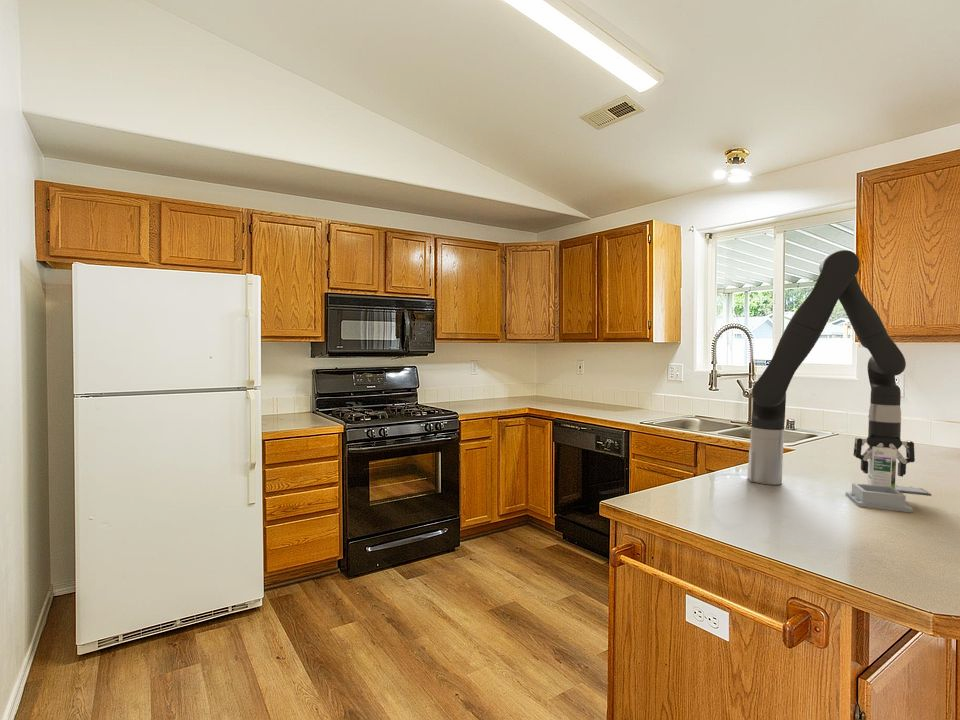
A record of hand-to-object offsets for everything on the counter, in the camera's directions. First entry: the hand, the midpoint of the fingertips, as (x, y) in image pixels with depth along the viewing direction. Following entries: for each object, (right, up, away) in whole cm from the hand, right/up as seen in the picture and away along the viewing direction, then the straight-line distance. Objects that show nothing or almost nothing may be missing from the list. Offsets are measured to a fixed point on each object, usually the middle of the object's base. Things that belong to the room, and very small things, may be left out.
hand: (882, 474), depth 156 cm
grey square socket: (-8, -6, -8) cm, 13 cm away
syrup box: (0, -6, +1) cm, 6 cm away
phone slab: (+11, -7, +7) cm, 14 cm away
